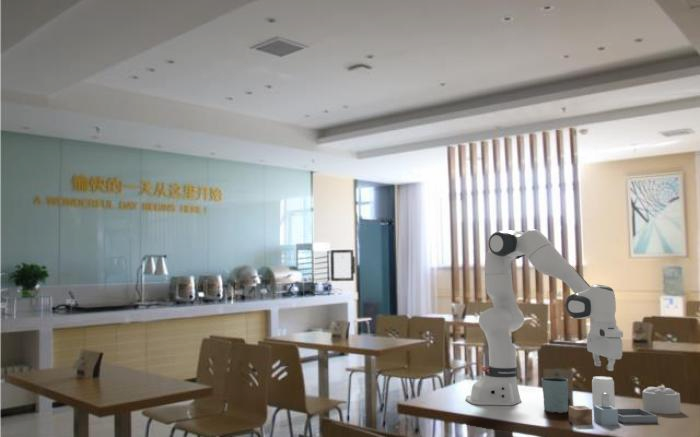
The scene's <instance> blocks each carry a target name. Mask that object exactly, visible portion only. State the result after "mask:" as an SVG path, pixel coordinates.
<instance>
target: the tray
mask: <svg viewBox="0 0 700 437" xmlns="http://www.w3.org/2000/svg"><path fill="white" fill-rule="evenodd" d="M617 409H618V423H621V424H623V425H625V424H626V425H628V424H631V423H636V424H658V423H659V420H658V419H659V416H658V415H656V414H654V413H653V412H647V411H645V410H643V408H640V407H638V408H636V407H635V408H617Z"/></svg>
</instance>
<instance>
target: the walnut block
mask: <svg viewBox="0 0 700 437" xmlns="http://www.w3.org/2000/svg"><path fill="white" fill-rule="evenodd" d="M568 422H570V423H571V424H573V425H575V426H593V409H592V408H590V407H588V406H586V405H568Z"/></svg>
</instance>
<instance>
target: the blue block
mask: <svg viewBox="0 0 700 437" xmlns="http://www.w3.org/2000/svg"><path fill="white" fill-rule="evenodd" d="M618 409H619V408H616V407H615V408H614V407H612V406H610V409H602V406H594V407H593V421H594V422H596V423H598V424H600V425H603V426H607V425H608V426H609V425H610V426H612V425H613V426H614V425H619V422H618Z"/></svg>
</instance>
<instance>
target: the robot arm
mask: <svg viewBox="0 0 700 437" xmlns="http://www.w3.org/2000/svg"><path fill="white" fill-rule="evenodd" d="M488 248H489V250H488V251H487V252H486V254H485V259H484V260H485V261H484V276H485V277H484V278H485V290H486V294H487V296H488V297H489V298H490V301H491V303H492V306H493V307H490V308H488V309H487V308H486V309H485V310H484V311H482V312H481V313H480V314H479V317H478V325H479V327H480V329H481V330H482V331H483V333H484V335H485V338H486V342H487V344H488V345H487V346H488V359H489V360H488V361H489V362H488V363H489V365H488V366H484V365H483V366H482V367H481V371H482V372H484V375H483V376H482V377H481V378H479V379H478V380H477V381H476V382H474V383H473V384H472V387H471V391H470V392H471V393H470V394H469V395H466V397H465V401H466V402H468V403H470V404H473V405H479V406H480V405H481V406H514V405H516V404H520V403H522V400H521V396H520V391H519V387H518V385H519V384H518V379H519V371H518V370H519V369H518V366H517V349H516V346H515V345H514V344H513V342H512V338H511V334H510V333H513V332H515V331H517V330H518V329H519V330H520V328H522V326H523V325H524V323H525V315H524V313H523V311H522V310H521V309H520V307H519V306H518V303H517V300H516V297H515V293H514V292H515V291H514V286H513V284H514V283H513V276H512V275H513V273H512V272H513V271H512V261H513V260H514V259H516V260H519V259H520V258H523V257H525V256H526V258H527V260H528V261H529V262H530V264H531V265H532V266H533V267H534V269H535V270H536V271H537V272H539V273H540V274H541V275H543V276H544V275H545V276H549V277H553V278H554V279H558V280H560V281H562V282H563V283H565V284H566V285H567V286H568V288H570V290H571V291H572V292H573V294H570V295H569V296H567V298H566V300H565V303H564V308H565V311H566V313H567V315H568V316H569V317H571V318H574V319H577V320H585V319H589V324H590V327H589V328H590V329H589V332H588V333H587V337H586V350H587V352H589V353H592V358H593V361H594V362H593V363H594V366H595V367H601V366H602V361H601V360H600V357H601V356H602V357H604V358H606V359H607V362H608V363H607V365H606V370H607V371H609V372H613V371H614V366H615V363H616V360H622V357H623V340H622V338H623V337H624V332H623V331H622V330H621V329H620V328H619V326H617V319H616V311H617V302H616V295H615V294H616V293H615V291H614V289H613V288H612V287H610V286H607V285H604V284H603V285H601V284H592V285H590V284H589V283H588V282H587V281H586V280H585V279H584V278H583V276H582V275H581V274H580V273H579V272H578V271H577V270H576V268H575V267H573V266H572V265H571V264H570V263H569V262H568V261H567V259H565V258H564V257H563V256H562V255H561V253H560V252H559V251H558V250H557V248H556V247H555V245H554V244H553V243H552V242H551V241H550V240H549V239H548V238H547V237H546V236H545V235H544V234H543V232H541V231H539V230H538V229H535V228H532V229H531V228H530V229H527V230H526V231H523V230H515V229H514V230H512V229H511V230H499V231H495V232H494V233H492V234H491V235H490V237H489V240H488Z"/></svg>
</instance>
